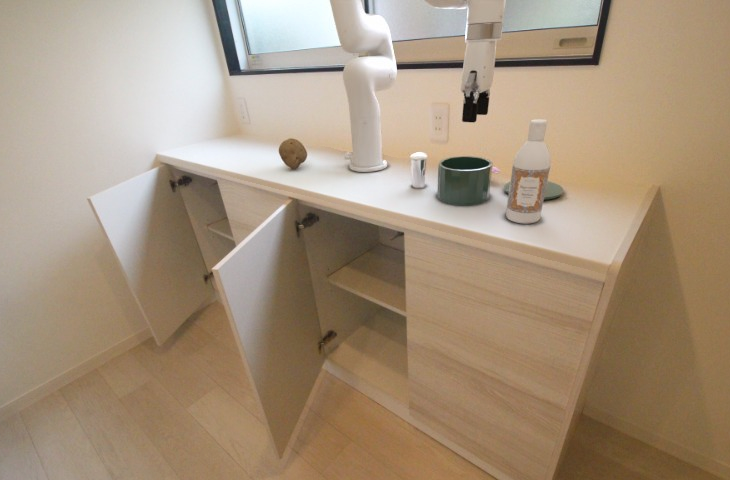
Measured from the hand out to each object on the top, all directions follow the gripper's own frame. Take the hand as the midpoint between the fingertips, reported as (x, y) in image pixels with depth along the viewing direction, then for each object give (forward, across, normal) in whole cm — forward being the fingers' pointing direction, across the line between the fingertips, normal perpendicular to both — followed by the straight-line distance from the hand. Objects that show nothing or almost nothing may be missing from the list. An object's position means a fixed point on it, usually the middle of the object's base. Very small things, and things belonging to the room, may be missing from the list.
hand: (475, 118), depth 87 cm
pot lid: (+17, -3, +16) cm, 23 cm away
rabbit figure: (+18, -9, -1) cm, 20 cm away
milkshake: (+18, +3, -14) cm, 23 cm away
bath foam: (+18, +14, +16) cm, 28 cm away
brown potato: (+19, 0, -60) cm, 62 cm away
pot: (+18, +6, 0) cm, 19 cm away
